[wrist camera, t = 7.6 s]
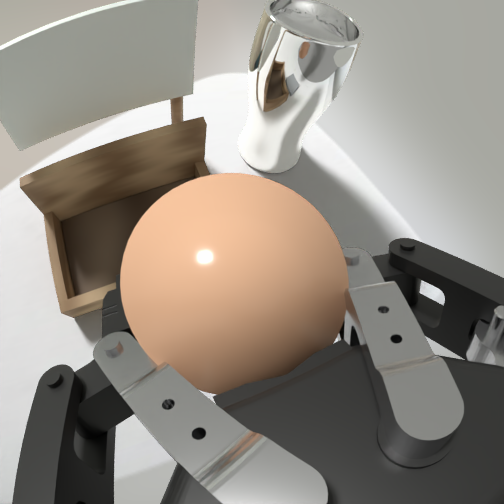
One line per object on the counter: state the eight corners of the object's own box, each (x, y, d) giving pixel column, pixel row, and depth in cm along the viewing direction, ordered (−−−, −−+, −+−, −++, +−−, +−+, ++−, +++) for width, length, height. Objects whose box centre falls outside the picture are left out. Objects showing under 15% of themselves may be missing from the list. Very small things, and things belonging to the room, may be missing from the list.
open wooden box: (73, 317, 22) (-9, 282, 11) (49, 179, 25) (-2, 96, 14) (237, 260, 25) (266, 187, 15) (186, 134, 29) (188, 35, 18)
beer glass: (303, 128, 31) (357, 10, 17) (303, 183, 29) (376, 59, 15) (237, 116, 30) (264, -14, 16) (228, 171, 28) (257, 28, 14)
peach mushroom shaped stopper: (187, 391, 14) (170, 430, 6) (148, 288, 16) (97, 210, 7) (289, 350, 16) (381, 336, 8) (248, 253, 17) (292, 153, 9)
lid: (20, 151, 18) (-30, 66, 10) (20, 145, 18) (-28, 61, 10) (192, 93, 22) (199, -9, 13) (190, 89, 22) (196, -12, 13)
